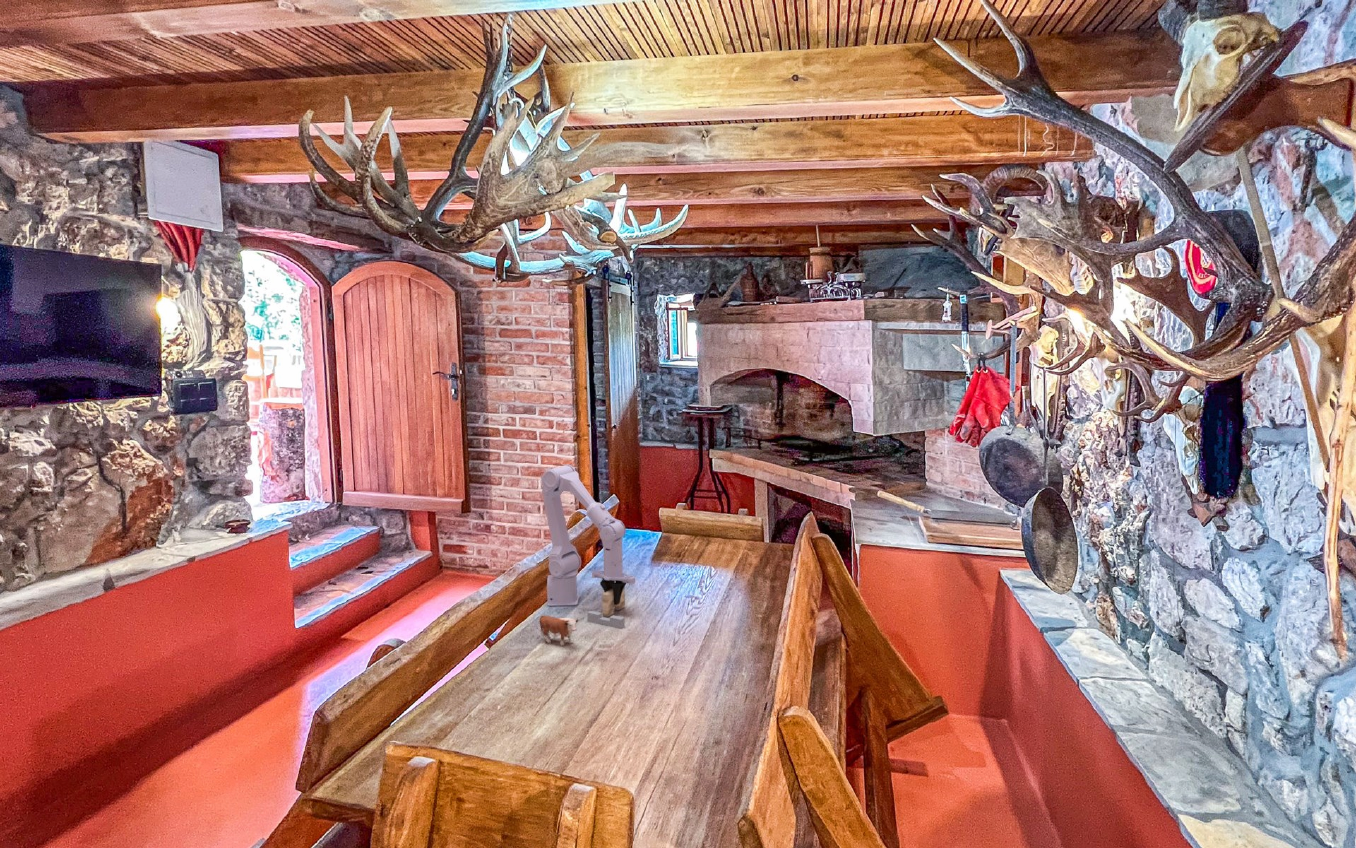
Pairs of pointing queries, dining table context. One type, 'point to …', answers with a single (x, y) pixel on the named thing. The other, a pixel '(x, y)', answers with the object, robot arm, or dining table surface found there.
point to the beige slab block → (611, 602)
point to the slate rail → (605, 619)
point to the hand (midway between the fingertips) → (613, 603)
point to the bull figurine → (557, 627)
